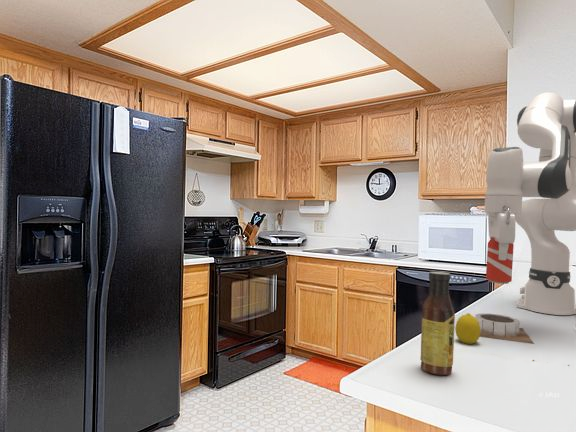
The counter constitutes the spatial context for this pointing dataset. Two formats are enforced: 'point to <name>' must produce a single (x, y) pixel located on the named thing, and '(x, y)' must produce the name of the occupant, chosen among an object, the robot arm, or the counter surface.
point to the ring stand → (521, 338)
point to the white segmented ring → (498, 325)
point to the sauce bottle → (438, 327)
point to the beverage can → (498, 264)
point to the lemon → (467, 329)
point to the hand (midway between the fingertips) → (499, 258)
